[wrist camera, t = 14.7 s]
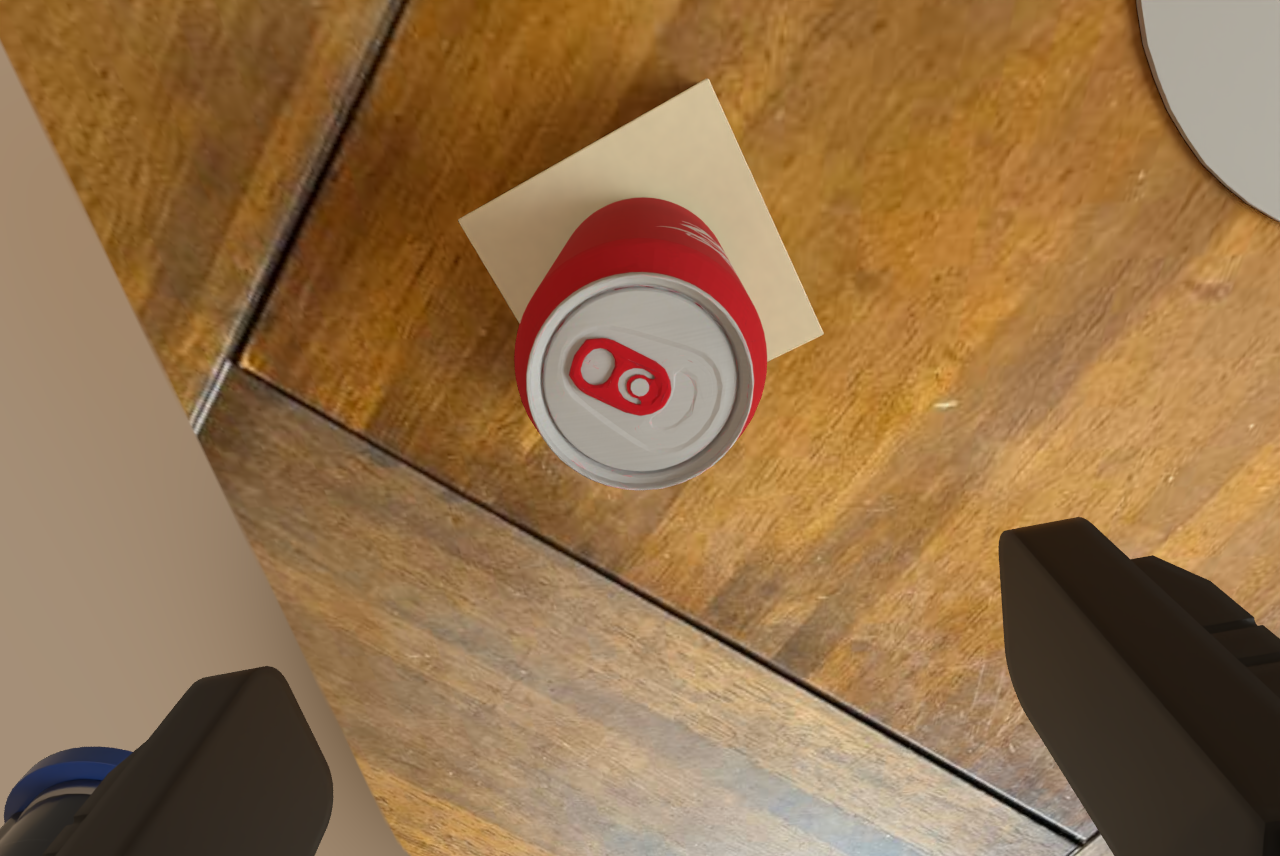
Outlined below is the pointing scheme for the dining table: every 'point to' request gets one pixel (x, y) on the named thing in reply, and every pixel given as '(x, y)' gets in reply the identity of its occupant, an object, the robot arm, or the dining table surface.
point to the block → (652, 168)
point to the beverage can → (641, 348)
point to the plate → (1222, 87)
